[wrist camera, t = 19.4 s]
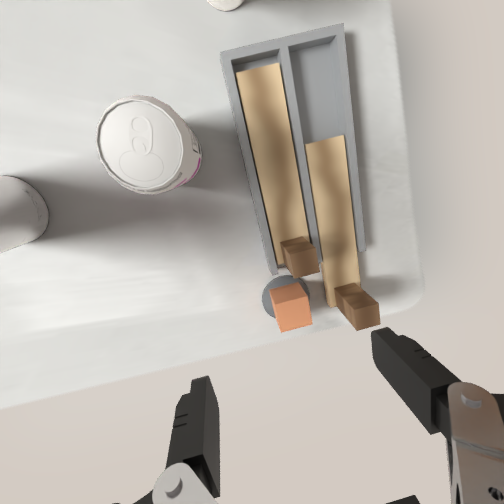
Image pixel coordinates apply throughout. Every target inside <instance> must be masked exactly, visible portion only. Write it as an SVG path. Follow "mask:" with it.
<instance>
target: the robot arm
mask: <svg viewBox="0 0 504 504" xmlns="http://www.w3.org/2000/svg"><path fill="white" fill-rule="evenodd" d="M48 220H49V214H48V209H47V206H46V203H45V201H44V200H43V198H42V196H41V195H40V194H39V193H38V192H37V191H36V189H34V188H33V187H32V186H31V185H29V184H28V183H26V182H24V181H22V180H20V179H17V178H15V177H10V176H0V253H2V252H5V251H8V250H10V249H13V248H16V247H18V246H21V245H23V244H26V243H28V242H31V241H33V240H35V239H37V238H38V237H40V236H41V235H42V234H43V233H44V231H45V230H46V228H47V225H48ZM371 341H372V353H373V359H374V362H375V364H376V367H377V368H378V370H379V371H380V372H381V374H382V375H383V376H384V377H385V379H386V380H387V381H388V382H389V384H390V385H391V386H392V387H393V389H394V390H395V391H396V392H397V394H398V395H399V396H400V397H401V398H402V400H403V401H404V402H405V403H406V405H407V406H408V407H409V408H410V410H411V411H412V412H413V413H414V415H415V416H416V417H417V418H418V420H419V421H420V422H421V423H422V425H423V426H424V427H425V428H426V430H427V431H428V432H429V433H430V435H431V434H435V433H438V432H441V433H442V434H443V435H444V436H445V438H446V450H447V460H448V470H449V481H450V491H451V504H504V394H490V393H489V392H488V391H487V390H485V389H483V388H482V387H479V386H477V385H475V384H472V383H467V382H462V381H461V380H459V379H458V378H457V377H456V376H455V375H454V374H453V373H451V372H450V371H449V370H448V369H447V368H446V367H445V366H443V365H442V364H441V363H440V362H439V361H438V360H436V359H435V358H434V357H432V356H431V354H429V353H428V352H427V351H426V350H424V348H423V347H422V346H420V345H419V344H418V343H417V342H416V341H415V340H413V339H411V338H408V337H406V336H404V335H400V336H398V335H396V334H395V333H394V332H393V331H392V330H391V329H390V328H388V327H386V328H382V329H378V330H374V331H372V332H371ZM219 435H220V433H219V407H218V402H217V398H216V395H215V393H214V390H213V387H212V384H211V381H210V378H209V376H204V377H201V378H197V379H193V380H192V382H191V390H190V393H188V394H185V395H182V397H181V399H180V401H179V402H178V404H177V406H176V411H175V419H174V423H173V429H172V434H171V441H170V446H169V452H168V458H167V464H166V468H165V471H164V472H163V473H162V474H161V475H160V476H159V478H158V479H157V481H156V483H155V486H154V489H153V490H152V491H151V492H150V493H148V494H147V495H146V496H144V497H143V498H141V499H140V500H138V501H137V502H135V503H134V504H218V503H217V502H216V501H215V499H214V498H217V497H220V436H219ZM114 504H119V503H114ZM386 504H420V503H419V501H418V499H417V498H416V496H415V495H412V496H409V497H406V498H403V499H399V500H396V501H393V502H390V503H386Z"/></svg>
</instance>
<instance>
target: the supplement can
mask: <svg viewBox="0 0 504 504" xmlns="http://www.w3.org/2000/svg"><path fill="white" fill-rule="evenodd" d="M96 146H97V150H98V154H99V158H100V161H101V162H102V164H103V165H104V167H105V169H106V170H107V172H108V173H109V175H110V176H111V177H112V178H113V179H115V180H116V181H117V182H118V183H119V184H120V185H122V186H123V187H125V188H127V189H129V190H132V191H134V192H137V193H140V194H153V195H155V194H159V193H162V192H166V191H170V190H172V189H174V188H176V187H178V186H181V185H183V184H185V183H187V182H188V181H189V180H191V179H192V178H193V177H195V175H196V174H197V172H198V170H199V169H200V166H201V161H202V152H201V146H200V144H199V141H198V139H197V137H196V135H195V134H194V133H193V132H192V130H191V129H190V128H189V127H188V125H187V124H186V123H185V122H184V120H183V119H182V118H181V117H180V116H179V115H178V114H177V113H176V112H175V111H174V110H173V109H172V108H171V107H170V106H169V105H167V104H165V103H163V102H161V101H159V100H158V99H156V98H154V97H148V96H140V95H132V96H129V97H125V98H121V99H118V100H117V101H116V102H114V103H113V104H112V105H111V106H109V107H108V108H107V109H106V110H105V111H104V113H103V115H102V117H101V119H100V121H99V123H98V125H97V131H96Z"/></svg>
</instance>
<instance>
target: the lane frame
mask: <svg viewBox="0 0 504 504" xmlns="http://www.w3.org/2000/svg"><path fill="white" fill-rule="evenodd" d="M220 61H221V66H222V70H223V74H224V78H225V83H226V87H227V91H228V96H229V100H230V104H231V108H232V113H233V117H234V121H235V125H236V130H237V134H238V138H239V142H240V147H241V151H242V155H243V160H244V164H245V168H246V172H247V177H248V181H249V185H250V189H251V194H252V198H253V202H254V206H255V211H256V215H257V219H258V224H259V228H260V232H261V236H262V241H263V245H264V249H265V253H266V258H267V262H268V266H269V270H270V272H271V274H272V275H276V274H278V270H277V268H280V267H284V266H286V265H285V264H284V263H283V264H279V265H278V264H277V262H276V259H275V255H274V250H273V246H272V241H271V237H270V232H269V228H268V223H267V219H266V214H265V210H264V205H263V201H262V196H261V192H260V187H259V183H258V178H257V174H256V169H255V165H254V160H253V156H252V151H251V147H250V142H249V138H248V134H247V129H246V125H245V120H244V116H243V111H242V107H241V102H240V98H239V93H238V89H237V84H236V80H235V74H236V73H237V72H242V71H246V70H250V69H254V68H258V67H262V66H266V65H271V64H275V63H279V66H280V71H281V77H282V83H283V89H284V95H285V100H286V106H287V112H288V118H289V124H290V129H291V135H292V141H293V147H294V153H295V158H296V164H297V170H298V176H299V182H300V188H301V193H302V199H303V205H304V211H305V217H306V222H307V228H308V234H309V240H310V243H311V244H312V245H313V246H314V247H316V252H317V258H318V263H321V262H322V256H321V250H320V244H319V237H318V231H317V225H316V219H315V212H314V206H313V200H312V194H311V187H310V181H309V175H308V169H307V162H306V156H305V150H304V145H305V144H309V143H313V142H317V141H321V140H325V139H329V138H333V137H337V136H341V135H344V141H345V150H346V159H347V168H348V177H349V186H350V195H351V204H352V212H353V221H354V230H355V239H356V248H357V251H359V252H362V251H366V244H365V234H364V224H363V214H362V204H361V194H360V184H359V174H358V164H357V154H356V144H355V134H354V124H353V113H352V103H351V93H350V83H349V73H348V63H347V53H346V43H345V33H344V23H341V24H336V25H332V26H328V27H324V28H320V29H315V30H311V31H307V32H303V33H299V34H294V35H290V36H286V37H282V38H278V39H273V40H269V41H265V42H261V43H257V44H252V45H248V46H244V47H240V48H236V49H231V50H227V51H223V52H220Z"/></svg>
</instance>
